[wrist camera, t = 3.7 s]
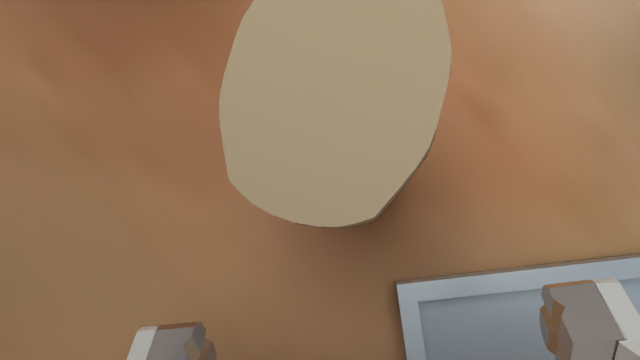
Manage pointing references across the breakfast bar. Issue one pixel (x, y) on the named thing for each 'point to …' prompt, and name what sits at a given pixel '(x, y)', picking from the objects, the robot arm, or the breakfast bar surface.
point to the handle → (332, 104)
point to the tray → (495, 308)
